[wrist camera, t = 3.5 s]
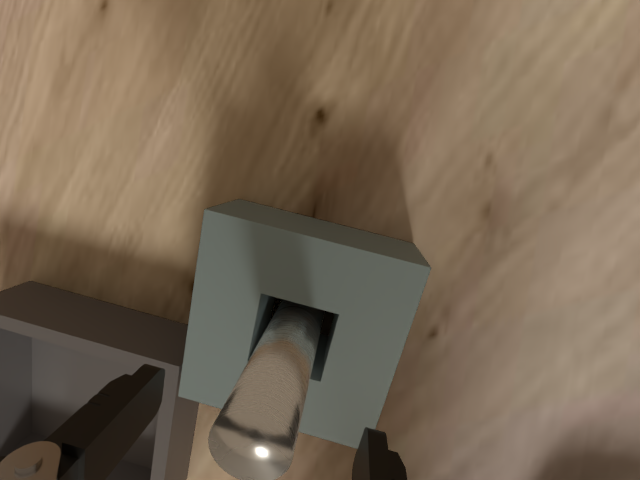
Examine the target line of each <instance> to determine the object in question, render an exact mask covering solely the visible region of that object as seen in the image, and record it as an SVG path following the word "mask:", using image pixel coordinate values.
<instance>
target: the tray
mask: <svg viewBox="0 0 640 480" xmlns="http://www.w3.org/2000/svg"><path fill="white" fill-rule="evenodd" d="M187 330H188V325H186V324H182V323H178V322H175V321H171V320H168V319H164V318H161V317H157V316H153V315H150V314H146V313H143V312H139V311H136V310H132V309H129V308H125V307H121V306H118V305H114V304H111V303H107V302H104V301H100V300H96V299H93V298H89V297H86V296H82V295H79V294H75V293H71V292H68V291H64V290H61V289H57V288H54V287H50V286H46V285H43V284H39V283H36V282H32V281H28V282H26V283H23V284H20V285H17V286H14V287H12V288H9V289H6V290H3V291H0V457H2V456H7V455H9V454H10V453H12V452H13V451H15V450H16V449H18V448H20V447H22V446H25V445H27V444H30V443H34V442H39V441H44V440H45V439H46V438H48V437H49V436H50V435H51V434H52V433H53V432H54V431H55V430H56V429H58V428H59V427H60V426H61V425H62V424H63V423H64V422H65V421H67V420H68V419H69V418H70V417H71V416H72V415H73V414H74V413H75V412H77V411H78V410H79V409H80V408H81V407H82V406H83V405H84V404H85V403H86V404H87V403H88V401H89V400H90V399H91V398H92V397H93V396H94V395H97V394H98V392H99V391H100V390H101V389H102V388H103V387H104V386H106V385H107V384H108V383H109V382H110V381H112V380H114V379H116V378H118V377H120V376H122V375H124V374H128V375H133V374H134V373H135V372H136V371H137V370H138V369H139V368H140V367H141V366H142V365H144V364H149V365H152V366H156V367H159V368H163V369H165V379H164V388H163V396H162V402H161V405H160V408H159V410H158V412H157V414H156V416H155V417H154V418H153V420H152V421H151V422H150V424H149V425H148V426H147V427H146V429H145V430H144V431H143V432H142V434H141V435H140V436H139V438H138V439H137V440H136V441H135V443H134V444H133V445H132V446H131V448H130V449H129V450H128V452H127V453H126V454H125V455H124V457H123V458H122V459H121V460H120V462H119V463H118V464H117V465H116V467H115V468H114V469H113V471H112V472H111V473H110V474H109V476H108V477H107V478H106V479H105V480H186V479H187V474H188V468H189V461H190V455H191V449H192V443H193V437H194V431H195V424H196V418H197V412H198V406H199V402H196V401H193V400H189V399H186V398H182V397H179V396H178V394H179V387H180V380H181V373H182V366H183V358H184V351H185V344H186V337H187Z"/></svg>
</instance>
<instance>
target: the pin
mask: <svg viewBox="0 0 640 480" xmlns="http://www.w3.org/2000/svg"><path fill="white" fill-rule="evenodd" d="M324 313H325V311H324V310H321V309H317V308H313V307H309V306H306V305H302V304H298V303H295V302H291V301H287V300H284V299H282V301H281V303H280V305H279V307H278V309H277V310H276V312H275V314H274V316H273V318H272V319H271V321H270V323H269V325H268V327H267V328H266V330H265V332H264V334H263V336H262V337H261V339H260V341H259V343H258V345H257V346H256V348H255V350H254V352H253V354H252V355H251V357H250V359H249V361H248V363H247V364H246V366H245V368H244V370H243V372H242V374H241V375H240V377H239V379H238V381H237V383H236V384H235V386H234V388H233V390H232V392H231V393H230V395H229V397H228V399H227V401H226V402H225V404H224V406H223V408H222V410H221V411H220V413H219V415H218V417H217V419H216V420H215V422H214V424H213V426H212V428H211V430H210V433H209V439H208V443H209V449H210V452H211V454H212V456H213V458H214V460H215V461H216V463H217V464H218V465H219V466H220V467H221V468H222V469H223V470H224V471H225V472H227V473H228V474H230V475H231V476H233V477H235V478H237V479H240V480H275V479H277V478H279V477H280V476H282V475H283V474H284V473H285V472H286V471H287V470H288V468H289V467H290V465H291V462H292V459H293V454H294V450H295V445H296V441H297V436H298V431H299V427H300V422H301V418H302V413H303V409H304V404H305V400H306V395H307V391H308V386H309V381H310V377H311V372H312V368H313V363H314V359H315V354H316V350H317V345H318V340H319V336H320V331H321V327H322V322H323V318H324Z"/></svg>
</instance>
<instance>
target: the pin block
mask: <svg viewBox="0 0 640 480" xmlns="http://www.w3.org/2000/svg"><path fill="white" fill-rule="evenodd" d="M430 270H431V267H430V265H429V264H428V262H427V261H426V260H425V258H424V257H423V256H422V254H421V253H420V251H419V250H418V249H417V247H416V246H415V244H414V243H410V242H406V241H402V240H398V239H394V238H390V237H387V236H383V235H379V234H375V233H371V232H367V231H363V230H359V229H355V228H351V227H347V226H343V225H339V224H336V223H332V222H328V221H324V220H320V219H316V218H312V217H308V216H304V215H300V214H296V213H292V212H288V211H284V210H281V209H277V208H273V207H269V206H265V205H261V204H257V203H253V202H249V201H245V200H241V199H238V200H234V201H231V202H227V203H224V204H220V205H217V206H213V207H210V208H207V209H204V216H203V223H202V230H201V237H200V244H199V251H198V258H197V266H196V273H195V280H194V287H193V294H192V301H191V308H190V316H189V323H188V330H187V337H186V344H185V351H184V358H183V366H182V373H181V380H180V387H179V394H178V396H179V397H182V398H186V399H189V400H193V401H196V402H199V403H203V404H206V405H210V406H213V407H216V408H220V409H222V408H223V406H224V404H225V402H226V401H227V399H228V397H229V395H230V393H231V392H232V390H233V388H234V386H235V384H236V383H237V381H238V379H239V377H240V375H241V374H242V372H243V370H244V368H245V366H246V364H247V363H248V361H249V359H250V357H251V355H252V354H253V352H254V350H255V348H256V346H257V345H258V343H259V341H260V339H261V337H262V336H263V334H264V332H265V330H266V328H267V327H268V325H269V323H270V321H271V320H270V319H271V314H272V310H273V305H274V300H275V297H276V298H280V299H284V300H287V301H291V302H295V303H298V304H302V305H306V306H309V307H313V308H317V309H321V310H324V311H328V312H332V313H334V316H333V320H332V324H331V327H330V331H329V335H328V336H327V335H323V334H320V336H319V340H318V345H317V350H316V354H315V359H314V363H313V368H312V372H311V377H310V381H309V386H308V391H307V395H306V400H305V404H304V409H303V413H302V418H301V422H300V427H299V431H298V432H301V433H305V434H308V435H312V436H315V437H318V438H322V439H325V440H329V441H332V442H335V443H339V444H342V445H346V446H349V447H352V448H356V449H358V446H359V443H360V440H361V438H362V435H363V432H364V429H365V427H368V428H371V429H375V428H376V425H377V423H378V420H379V417H380V414H381V411H382V408H383V405H384V402H385V400H386V397H387V394H388V391H389V388H390V385H391V382H392V379H393V377H394V374H395V371H396V368H397V365H398V362H399V359H400V356H401V354H402V351H403V348H404V345H405V342H406V339H407V336H408V333H409V331H410V328H411V325H412V322H413V319H414V316H415V313H416V310H417V308H418V305H419V302H420V299H421V296H422V293H423V290H424V287H425V285H426V282H427V279H428V276H429V273H430Z"/></svg>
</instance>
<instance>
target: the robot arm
mask: <svg viewBox="0 0 640 480" xmlns="http://www.w3.org/2000/svg"><path fill="white" fill-rule="evenodd" d="M164 379H165V369H163V368H159V367H156V366H152V365H149V364H144V365H142V366H141V367H140V368H139V369H138V370H137V371H136V372H135V373H134V374H133V375H128V374H124V375H122V376H120V377H118V378H116V379H114V380H112V381H110V382H109V383H108V384H107V385H106V386H104V387H103V388H102V389H101V390H100V391H99V392H98V394H97V395H94V396H93V397H92V398H91V399H90V400H89V401H88V403H87V404H86V403H85V404H84V405H83V406H82V407H81V408H80V409H79V410H78V411H77V412H75V413H74V414H73V415H72V416H71V417H70V418H69V419H68V420H67V421H65V422H64V423H63V424H62V425H61V426H60V427H59V428H58V429H56V430H55V431H54V432H53V433H52V434H51V435H50V436H49V437H48V438H46V439H45V440H44V441H39V442H34V443H30V444H27V445H25V446H22V447H20V448H18V449H16V450H15V451H13V452H12V453H10V454H9V455H7V456H2V457H0V480H105V479H106V478H107V477H108V476H109V474H110V473H111V472H112V471H113V469H114V468H115V467H116V465H117V464H118V463H119V462H120V460H121V459H122V458H123V457H124V455H125V454H126V453H127V452H128V450H129V449H130V448H131V446H132V445H133V444H134V443H135V441H136V440H137V439H138V438H139V436H140V435H141V434H142V432H143V431H144V430H145V429H146V427H147V426H148V425H149V424H150V422H151V421H152V420H153V418H154V417H155V416H156V414H157V412H158V410H159V408H160V405H161V402H162V396H163V388H164ZM352 480H407V475H406V469H405V466H404V464H403V462H402V460H401V458H400V456H399V454H398V453H397V452H394V451H390V450H388V446H387V437H386V433H385V432H382V431H378V430H375V429H371V428H368V427H365V429H364V432H363V435H362V438H361V440H360V443H359V446H358V449H357V452H356V455H355V459H354V463H353V470H352Z"/></svg>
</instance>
